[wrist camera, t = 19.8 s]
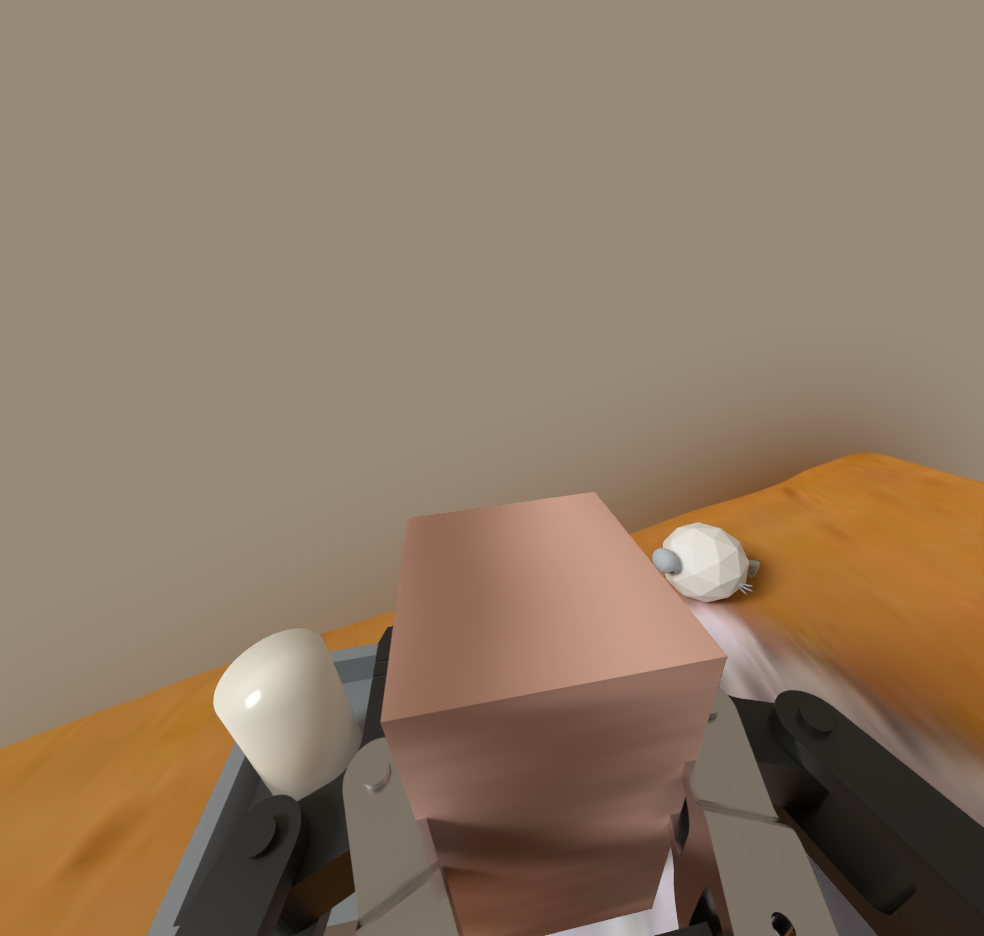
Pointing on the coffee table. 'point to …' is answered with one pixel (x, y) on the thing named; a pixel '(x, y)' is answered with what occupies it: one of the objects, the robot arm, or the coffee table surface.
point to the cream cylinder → (289, 712)
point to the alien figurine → (704, 562)
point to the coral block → (543, 710)
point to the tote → (240, 795)
